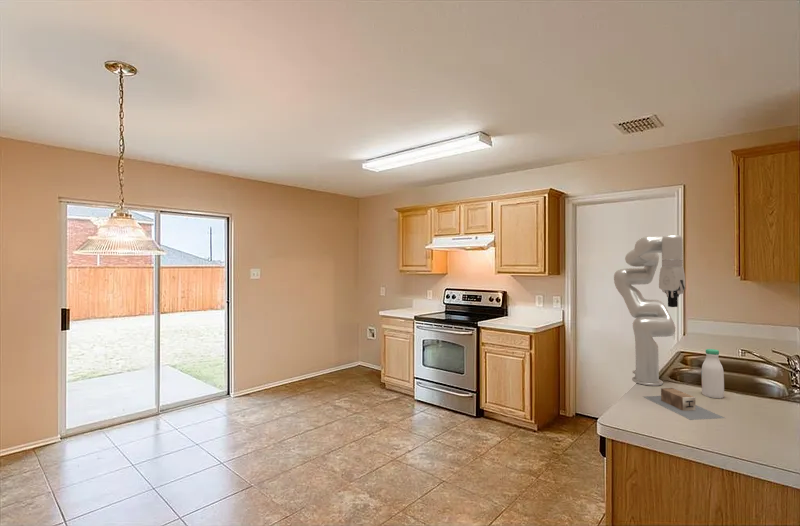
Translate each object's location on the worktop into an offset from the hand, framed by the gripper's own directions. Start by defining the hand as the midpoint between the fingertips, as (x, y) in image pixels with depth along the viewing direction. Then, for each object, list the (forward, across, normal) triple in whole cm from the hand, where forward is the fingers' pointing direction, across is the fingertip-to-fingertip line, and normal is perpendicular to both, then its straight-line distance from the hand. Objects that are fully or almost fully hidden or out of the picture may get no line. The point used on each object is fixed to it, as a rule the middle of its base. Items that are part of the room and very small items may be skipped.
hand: (672, 306), depth 175 cm
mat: (+39, +11, -6) cm, 41 cm away
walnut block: (+36, +16, -6) cm, 40 cm away
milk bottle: (+39, 0, +18) cm, 43 cm away
